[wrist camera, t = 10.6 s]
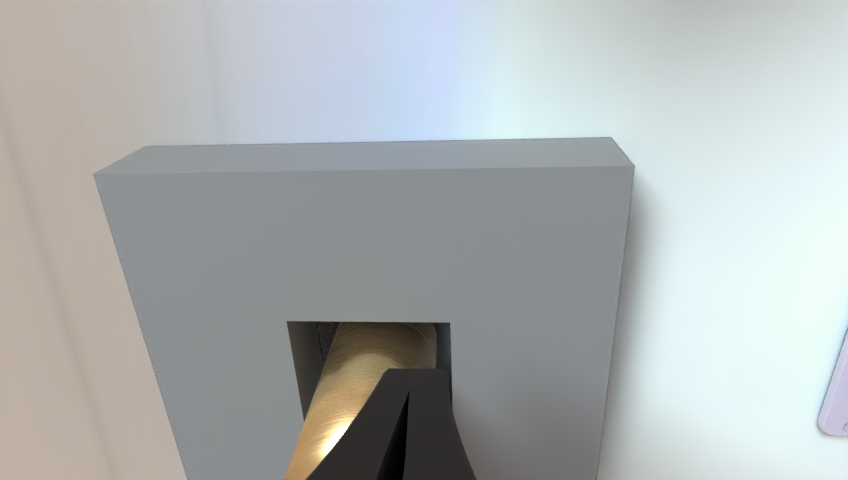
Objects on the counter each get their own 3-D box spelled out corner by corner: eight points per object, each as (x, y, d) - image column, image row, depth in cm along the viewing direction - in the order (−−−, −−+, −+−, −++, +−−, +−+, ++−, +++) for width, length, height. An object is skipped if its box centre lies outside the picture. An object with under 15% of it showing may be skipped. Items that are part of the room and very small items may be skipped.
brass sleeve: (436, 294, 22) (429, 449, 14) (437, 381, 23) (430, 560, 16) (333, 294, 22) (271, 445, 14) (340, 379, 23) (289, 555, 16)
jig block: (611, 137, 18) (634, 165, 16) (575, 488, 25) (587, 549, 22) (144, 146, 20) (93, 174, 17) (231, 475, 27) (203, 532, 24)
